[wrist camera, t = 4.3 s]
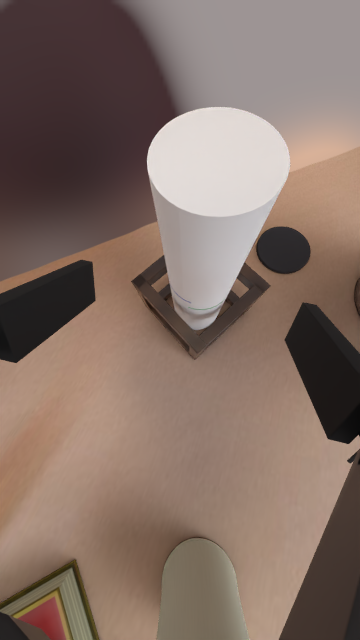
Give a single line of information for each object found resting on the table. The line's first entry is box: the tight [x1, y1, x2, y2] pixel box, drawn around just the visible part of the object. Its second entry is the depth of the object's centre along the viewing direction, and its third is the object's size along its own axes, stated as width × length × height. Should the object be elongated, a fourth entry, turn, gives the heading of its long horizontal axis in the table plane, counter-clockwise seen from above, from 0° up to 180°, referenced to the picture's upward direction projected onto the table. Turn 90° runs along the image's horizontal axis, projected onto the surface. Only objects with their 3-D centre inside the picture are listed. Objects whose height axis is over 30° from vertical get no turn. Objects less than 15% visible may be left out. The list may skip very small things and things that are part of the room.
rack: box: [131, 255, 270, 360], centre depth 30 cm, size 12×12×10 cm
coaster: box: [257, 227, 310, 274], centre depth 37 cm, size 9×9×1 cm
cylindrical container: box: [147, 107, 290, 330], centre depth 23 cm, size 7×7×25 cm
